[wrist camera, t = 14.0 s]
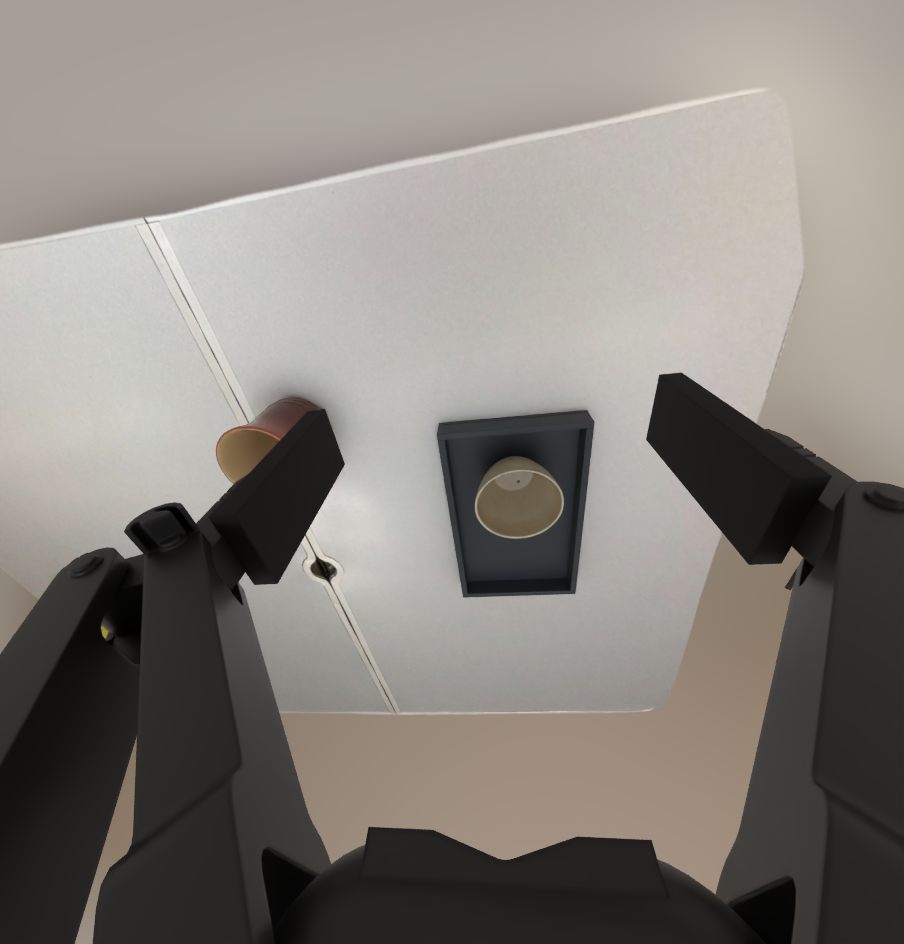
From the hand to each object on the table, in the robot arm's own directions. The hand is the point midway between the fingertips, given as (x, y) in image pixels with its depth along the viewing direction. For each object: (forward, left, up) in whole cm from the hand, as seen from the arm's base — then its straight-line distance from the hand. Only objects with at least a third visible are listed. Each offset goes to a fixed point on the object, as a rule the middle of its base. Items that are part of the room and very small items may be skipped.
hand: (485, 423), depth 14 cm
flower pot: (+10, +17, -26) cm, 32 cm away
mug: (+25, -6, -26) cm, 36 cm away
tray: (+15, +22, -26) cm, 37 cm away
